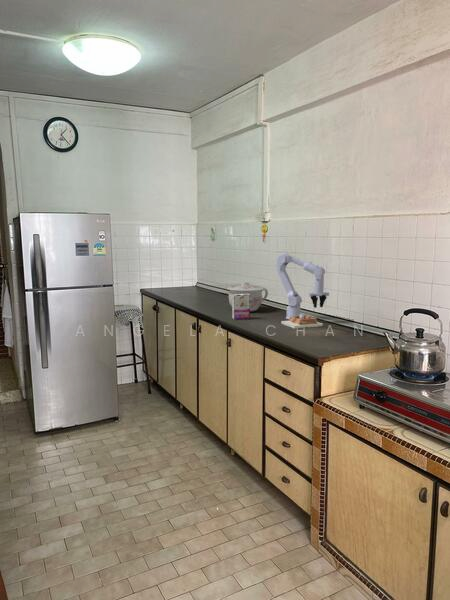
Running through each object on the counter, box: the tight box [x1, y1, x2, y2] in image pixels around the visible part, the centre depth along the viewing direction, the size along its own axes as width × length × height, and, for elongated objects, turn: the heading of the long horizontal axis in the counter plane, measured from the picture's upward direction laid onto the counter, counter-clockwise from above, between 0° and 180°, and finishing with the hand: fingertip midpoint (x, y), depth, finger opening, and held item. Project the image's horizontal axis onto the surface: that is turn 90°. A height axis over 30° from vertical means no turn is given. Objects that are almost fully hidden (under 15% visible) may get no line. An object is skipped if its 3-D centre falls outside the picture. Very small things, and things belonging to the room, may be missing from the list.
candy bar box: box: [231, 294, 251, 321], centre depth 301 cm, size 11×5×16 cm, turn 106°
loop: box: [289, 314, 318, 325], centre depth 283 cm, size 12×12×3 cm
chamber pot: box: [226, 282, 269, 313], centre depth 332 cm, size 28×28×21 cm
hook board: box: [280, 313, 324, 329], centre depth 283 cm, size 16×20×6 cm
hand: (318, 307), depth 292 cm, fingers open, 4 cm apart
